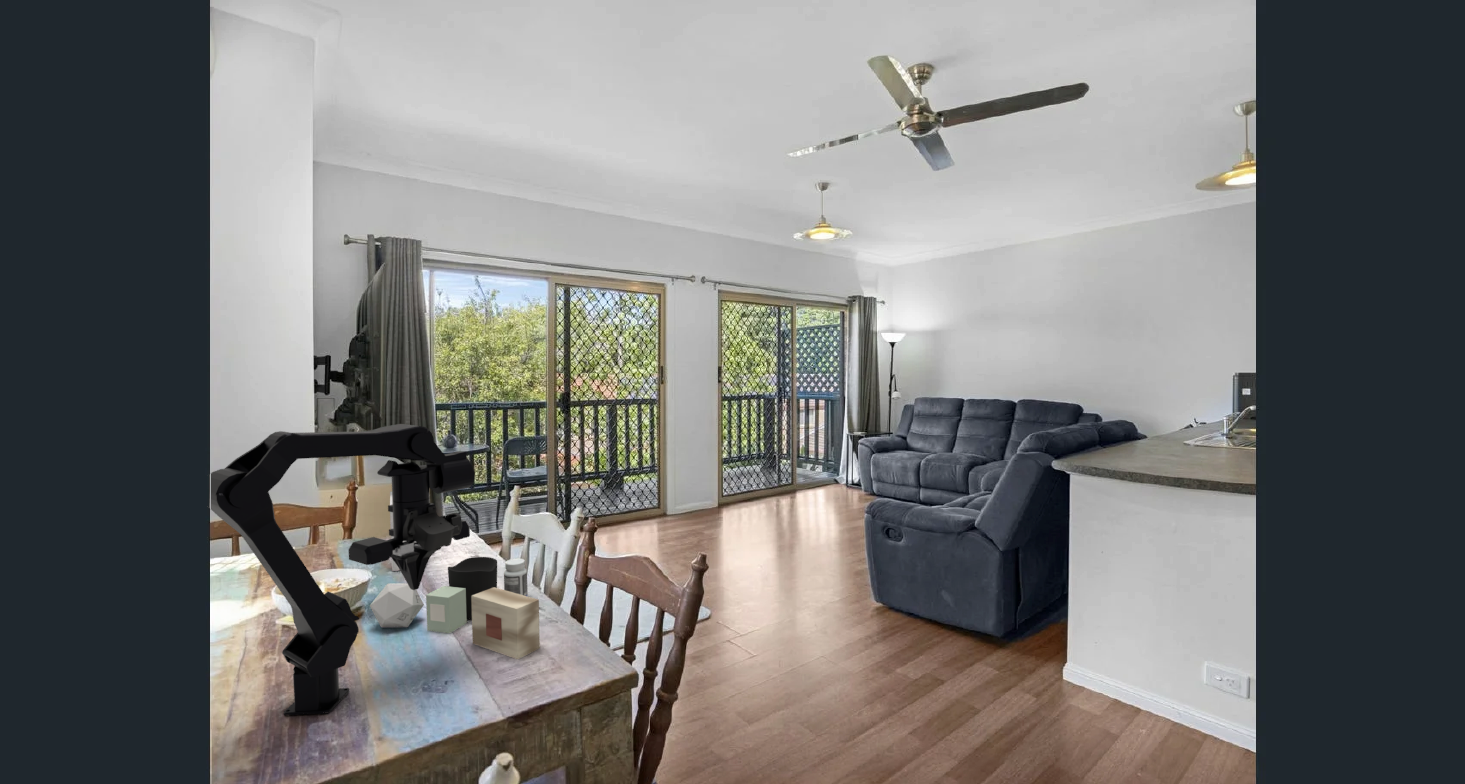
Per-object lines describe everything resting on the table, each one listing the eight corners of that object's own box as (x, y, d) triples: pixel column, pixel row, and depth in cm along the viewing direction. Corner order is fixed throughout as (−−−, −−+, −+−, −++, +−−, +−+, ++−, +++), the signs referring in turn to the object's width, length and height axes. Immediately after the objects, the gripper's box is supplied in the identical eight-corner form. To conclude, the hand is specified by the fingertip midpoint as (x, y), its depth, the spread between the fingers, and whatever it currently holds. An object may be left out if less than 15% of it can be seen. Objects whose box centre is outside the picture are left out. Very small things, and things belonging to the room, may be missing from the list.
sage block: (449, 633, 124) (448, 597, 124) (426, 630, 126) (425, 595, 125) (466, 622, 129) (465, 588, 129) (445, 620, 130) (444, 585, 130)
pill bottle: (519, 593, 145) (518, 556, 144) (532, 598, 142) (531, 560, 141) (500, 599, 141) (499, 561, 140) (512, 605, 138) (511, 566, 137)
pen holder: (502, 614, 133) (501, 566, 132) (453, 625, 128) (451, 574, 128) (493, 599, 141) (491, 554, 140) (445, 608, 136) (444, 561, 136)
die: (388, 641, 123) (421, 595, 125) (352, 616, 124) (386, 570, 126) (408, 638, 130) (439, 595, 133) (374, 614, 132) (405, 572, 134)
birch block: (517, 659, 114) (516, 609, 113) (472, 643, 120) (470, 595, 119) (539, 648, 118) (538, 599, 118) (495, 633, 124) (494, 587, 124)
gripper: (385, 517, 98) (389, 618, 100) (489, 493, 114) (491, 581, 115) (344, 508, 104) (348, 603, 105) (448, 486, 120) (451, 570, 121)
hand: (414, 589), depth 112 cm, fingers closed
